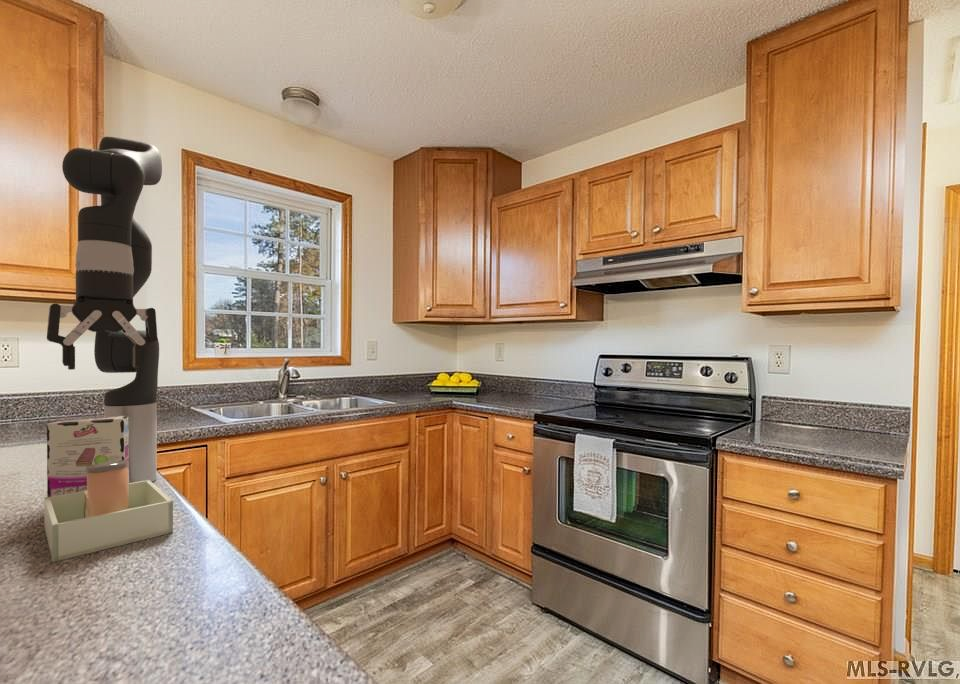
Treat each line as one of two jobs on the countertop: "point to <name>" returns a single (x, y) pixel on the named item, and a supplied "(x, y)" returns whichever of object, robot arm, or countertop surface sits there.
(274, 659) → the countertop surface
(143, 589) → the countertop surface
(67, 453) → the candy bar box
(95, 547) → the tote
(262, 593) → the countertop surface
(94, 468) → the spice jar
